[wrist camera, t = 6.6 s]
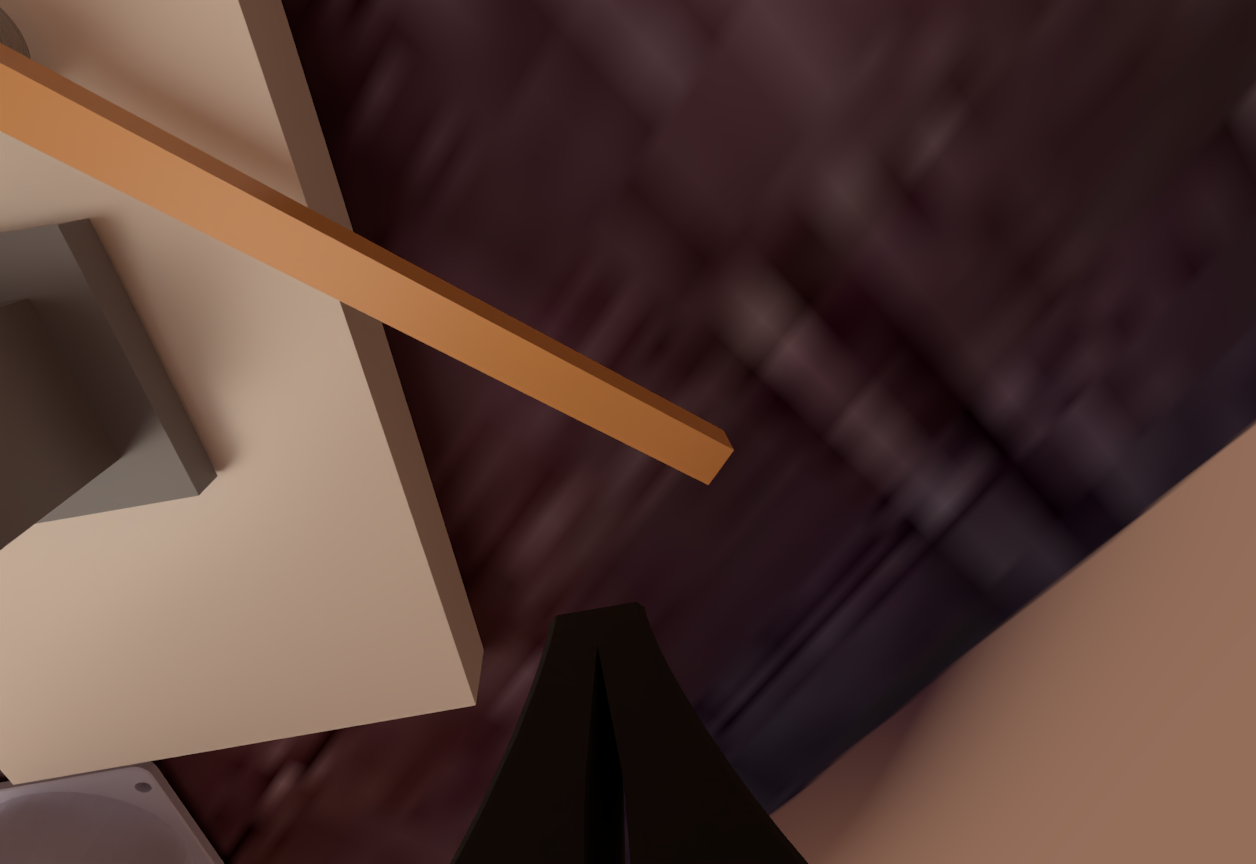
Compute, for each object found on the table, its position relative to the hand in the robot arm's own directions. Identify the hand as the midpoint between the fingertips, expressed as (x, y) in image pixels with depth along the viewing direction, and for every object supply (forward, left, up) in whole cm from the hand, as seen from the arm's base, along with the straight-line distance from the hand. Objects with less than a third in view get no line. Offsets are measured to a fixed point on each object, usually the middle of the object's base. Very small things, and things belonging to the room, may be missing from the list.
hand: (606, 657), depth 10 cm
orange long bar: (+5, +4, -6) cm, 9 cm away
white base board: (+2, +12, -9) cm, 15 cm away
